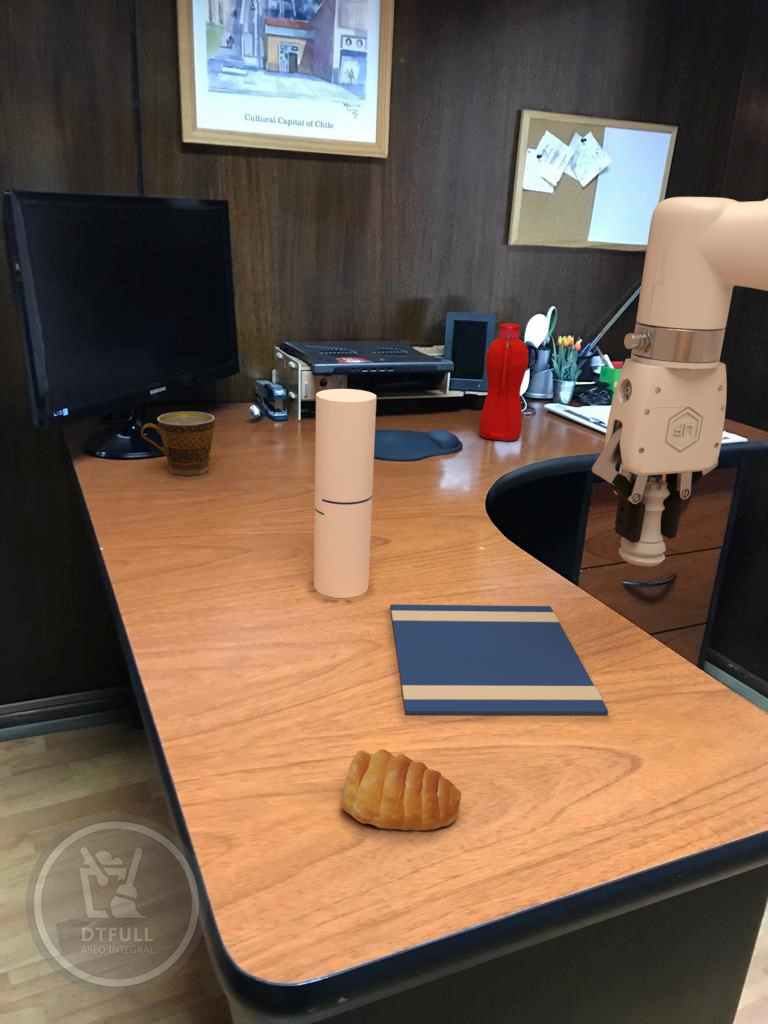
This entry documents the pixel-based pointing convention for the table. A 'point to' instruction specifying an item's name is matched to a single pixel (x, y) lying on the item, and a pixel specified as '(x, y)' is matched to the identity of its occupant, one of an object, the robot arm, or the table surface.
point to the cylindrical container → (343, 491)
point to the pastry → (398, 793)
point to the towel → (489, 662)
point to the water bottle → (504, 385)
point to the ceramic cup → (185, 441)
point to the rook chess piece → (648, 528)
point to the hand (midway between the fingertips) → (645, 533)
